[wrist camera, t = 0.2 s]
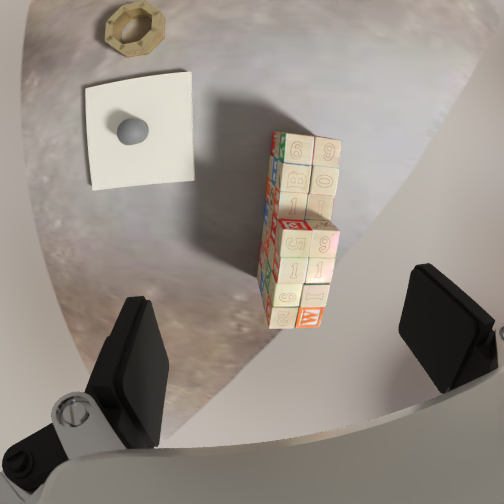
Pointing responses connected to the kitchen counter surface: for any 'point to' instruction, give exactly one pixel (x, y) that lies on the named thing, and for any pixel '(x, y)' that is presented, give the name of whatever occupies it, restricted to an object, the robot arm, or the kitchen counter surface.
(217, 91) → the kitchen counter surface
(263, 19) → the kitchen counter surface
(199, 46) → the kitchen counter surface
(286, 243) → the stack of blocks
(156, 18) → the beige octagonal ring
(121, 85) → the base
